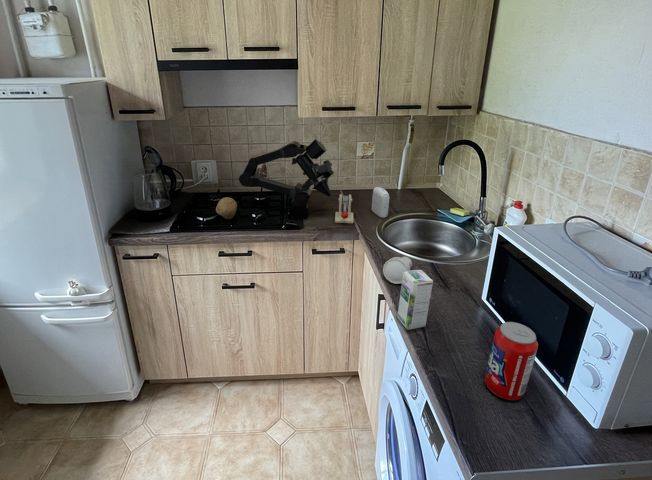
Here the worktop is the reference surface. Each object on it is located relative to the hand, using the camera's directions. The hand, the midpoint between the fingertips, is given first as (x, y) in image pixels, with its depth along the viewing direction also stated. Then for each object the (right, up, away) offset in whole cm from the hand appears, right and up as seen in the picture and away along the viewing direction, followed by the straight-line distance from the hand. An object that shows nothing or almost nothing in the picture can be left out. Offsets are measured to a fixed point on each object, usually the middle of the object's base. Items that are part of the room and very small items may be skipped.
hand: (330, 195), depth 160 cm
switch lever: (+6, -6, +4) cm, 10 cm away
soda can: (+33, -44, -78) cm, 95 cm away
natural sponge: (-45, -10, +7) cm, 46 cm away
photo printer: (+23, -8, +15) cm, 29 cm away
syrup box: (+18, -36, -57) cm, 70 cm away
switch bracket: (+7, -10, +9) cm, 15 cm away
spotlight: (+20, -28, -36) cm, 49 cm away
